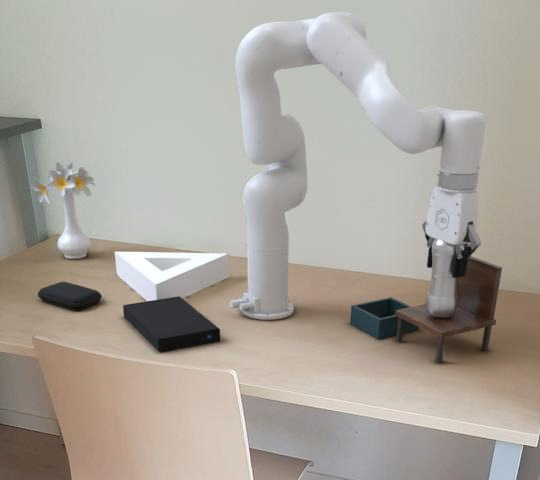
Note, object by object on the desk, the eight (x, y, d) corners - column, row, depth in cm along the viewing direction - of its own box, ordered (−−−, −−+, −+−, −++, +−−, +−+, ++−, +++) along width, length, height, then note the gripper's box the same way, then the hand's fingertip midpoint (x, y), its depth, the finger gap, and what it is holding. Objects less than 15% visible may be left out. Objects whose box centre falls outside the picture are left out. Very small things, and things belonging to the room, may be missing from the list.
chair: (438, 364, 163) (449, 279, 153) (392, 340, 173) (400, 259, 164) (491, 350, 169) (505, 267, 160) (443, 328, 180) (454, 249, 170)
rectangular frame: (378, 339, 174) (379, 319, 172) (349, 324, 182) (351, 305, 179) (418, 329, 179) (420, 310, 177) (389, 315, 187) (391, 296, 184)
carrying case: (109, 301, 193) (67, 289, 200) (108, 288, 192) (66, 277, 199) (77, 313, 186) (35, 300, 193) (75, 300, 184) (33, 288, 191)
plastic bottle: (458, 321, 164) (472, 224, 153) (426, 321, 164) (437, 223, 154) (453, 310, 170) (466, 215, 159) (421, 310, 170) (432, 215, 159)
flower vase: (35, 261, 220) (20, 167, 206) (79, 245, 233) (68, 156, 220) (70, 269, 214) (58, 172, 201) (113, 252, 228) (104, 161, 215)
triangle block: (157, 310, 188) (155, 284, 185) (77, 290, 200) (74, 265, 196) (228, 277, 210) (228, 253, 206) (152, 261, 221) (151, 238, 218)
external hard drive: (180, 308, 189) (180, 296, 188) (220, 341, 172) (220, 328, 170) (124, 317, 184) (122, 305, 182) (159, 352, 166) (158, 339, 165)
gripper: (413, 174, 157) (404, 263, 166) (474, 191, 144) (461, 286, 154) (442, 171, 160) (431, 258, 170) (504, 187, 148) (489, 280, 157)
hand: (445, 271), depth 162 cm, fingers open, 7 cm apart
